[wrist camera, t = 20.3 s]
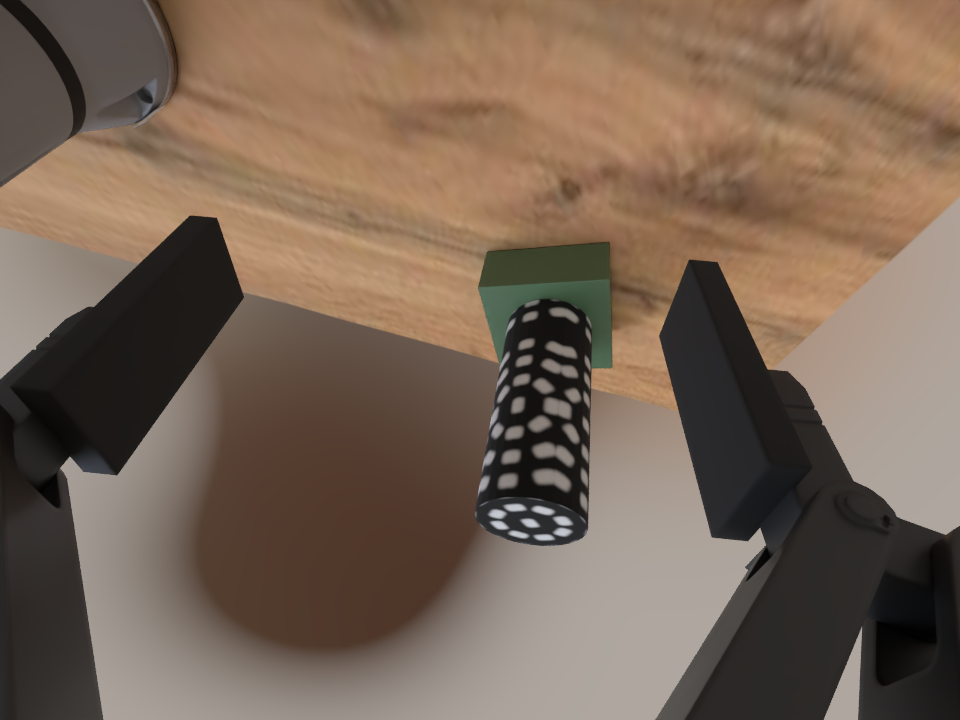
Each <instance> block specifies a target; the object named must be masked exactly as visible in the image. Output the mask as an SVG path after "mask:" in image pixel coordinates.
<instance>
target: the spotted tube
mask: <svg viewBox="0 0 960 720" xmlns="http://www.w3.org/2000/svg"><path fill="white" fill-rule="evenodd" d="M591 362H592V325H591V322H590V320H589V318H588V317H587V315H586V314H585V313H584V312H583V311H582V310H581V309H579V308H578V307H576V306H574V305H572V304H570V303H568V302H565V301H561V300H555V299H540V300H535V301H531V302H528V303H525V304H523V305H522V306H520V307H518V308H517V309H516V310H515V311H514V312H513V313H512V315H511V316H510V318H509V321H508V326H507V331H506V337H505V343H504V349H503V354H502V360H501V366H500V372H499V377H498V383H497V389H496V395H495V401H494V407H493V412H492V418H491V424H490V429H489V436H488V441H487V447H486V452H485V458H484V464H483V469H482V475H481V481H480V487H479V493H478V498H477V504H476V510H475V518H476V520H477V522H478V523H479V524H480V525H481V526H482V527H483V528H485V529H486V530H487V531H489V532H491V533H492V534H494V535H497V536H499V537H501V538H504V539H507V540H511V541H514V542H518V543H523V544H530V545H540V546H554V545H563V544H569V543H572V542H575V541H577V540H579V539H581V538H583V537H584V536H585V535H586V533H587V530H588V501H589V456H590V453H589V452H590V409H591Z"/></svg>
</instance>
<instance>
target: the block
mask: <svg viewBox="0 0 960 720" xmlns="http://www.w3.org/2000/svg"><path fill="white" fill-rule="evenodd" d="M478 289H479V292H480V296H481V300H482V303H483V307H484V310H485V314H486V318H487V321H488V325H489V328H490V332H491V336H492V339H493V343H494V346H495V350H496V354H497V357H498V361H499V364H500V366H501V360H502V354H503V349H504V343H505V337H506V331H507V326H508V321H509V318H510V316H511V315H512V313H513V312H514V311H515V310H516V309H517V308H518V307H520V306H522V305H523V304H525V303H528V302H531V301H535V300H540V299H555V300H561V301H565V302H568V303H570V304H572V305H574V306H576V307H578V308H579V309H581V310H582V311H583V312H584V313H585V314H586V315H587V317H588V318H589V320H590V322H591V325H592V362H591V368H612V316H611V282H610V248H609V242H607V243H594V244H582V245H569V246H557V247H544V248H531V249H519V250H506V251H493V252H487V254H486V258H485V262H484V266H483V270H482V274H481V278H480V282H479V286H478Z"/></svg>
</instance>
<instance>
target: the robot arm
mask: <svg viewBox="0 0 960 720" xmlns="http://www.w3.org/2000/svg"><path fill="white" fill-rule="evenodd" d="M176 79H177V60H176V54H175V49H174V44H173V40H172V37H171V34H170V31H169V28H168V26H167V23H166V21H165V18H164V16H163V14H162V12H161V10H160V8H159V6H158V4H157V2H156V1H155V0H0V187H2V186H3V185H5V184H6V183H7V182H9V181H10V180H12V179H13V178H14V177H16V176H17V175H19V174H20V173H21V172H23V171H24V170H26V169H27V168H28V167H30V166H31V165H33V164H34V163H36V162H37V161H38V160H40V159H41V158H43V157H44V156H45V155H47V154H48V153H50V152H51V151H52V150H54V149H55V148H57V147H58V146H60V145H61V144H62V143H64V142H65V141H67V140H68V139H70V138H71V137H73V136H74V135H76V134H77V133H82V132H88V131H94V130H100V129H107V128H113V127H119V126H125V125H131V124H134V123H137V122H140V121H141V122H140V123H138V124H137V125H136V126H135V127H137V126H140V125H142V124H143V123H145V122H146V121H147V120H148V119H150V118H151V117H152V116H153V115H155V114H156V113H157V112H158V111H160V110H161V109H162V108H164V107H165V106H164V105H165V104H166V103H167V102H168V101H169V99H170V98H171V96H172V94H173V91H174V88H175V85H176ZM163 106H164V107H163ZM135 127H133V128H135ZM243 298H244V296H243V293H242V290H241V287H240V284H239V281H238V278H237V275H236V272H235V269H234V266H233V264H232V261H231V258H230V255H229V252H228V249H227V246H226V243H225V240H224V237H223V234H222V231H221V228H220V226H219V223H218V220H217V218H212V217H201V216H189V217H188V218H187V219H186V220H185V221H184V222H183V223H182V224H181V225H180V226H179V227H178V228H177V229H175V230H174V231H173V232H172V233H171V234H170V235H169V236H168V237H167V238H166V239H165V240H164V241H163V242H162V243H161V244H160V245H159V246H158V247H157V248H156V249H154V250H153V251H152V252H151V253H150V254H149V255H148V256H147V257H146V258H145V259H144V260H143V261H142V262H141V263H140V264H139V265H138V266H137V267H136V268H135V269H133V270H132V272H131V273H129V274H128V275H127V276H126V277H125V278H124V279H123V280H122V281H121V282H120V283H119V284H118V285H117V286H116V287H115V288H114V289H112V290H111V291H110V292H109V293H108V294H107V295H106V296H105V297H104V298H103V299H102V300H101V301H100V302H99V303H98V304H97V305H96V306H95V307H87V308H85V309H83V310H82V311H80V312H78V313H76V314H74V315H72V316H71V317H69V318H67V319H65V320H64V322H62V323H61V324H60V325H59V326H58V327H57V328H56V329H55V330H54V331H52V332H51V333H50V337H46V338H45V339H44V340H43V341H42V342H40V343H39V344H38V345H37V346H36V350H32V351H31V352H30V353H29V354H27V355H26V356H25V357H24V358H23V359H22V360H21V361H20V362H19V363H18V364H17V365H16V366H14V367H13V368H12V369H11V370H10V371H9V372H8V373H7V374H6V375H5V376H4V377H3V378H1V379H0V720H103V715H102V709H101V702H100V695H99V689H98V682H97V675H96V668H95V662H94V655H93V649H92V643H91V635H90V629H89V622H88V615H87V609H86V602H85V596H84V589H83V582H82V576H81V569H80V562H79V556H78V549H77V542H76V536H75V529H74V522H73V516H72V509H71V503H70V496H69V490H68V483H67V478H66V476H65V475H64V473H63V471H62V470H61V469H60V467H61V466H62V465H63V464H64V463H65V461H66V460H67V459H68V458H69V457H71V458H72V459H73V460H74V461H75V462H76V464H77V465H78V466H79V467H80V468H81V469H82V470H83V472H91V473H100V474H110V475H118V473H119V472H120V471H121V469H122V468H123V466H124V465H125V464H126V462H127V461H128V459H129V458H130V457H131V455H132V454H133V452H134V451H135V450H136V448H137V447H138V445H139V444H140V442H141V441H142V440H143V438H144V437H145V436H146V434H147V433H148V431H149V430H150V428H151V427H152V425H153V424H154V423H155V422H156V420H157V419H158V417H159V416H160V415H161V413H162V412H163V410H164V409H165V407H166V406H167V405H168V403H169V402H170V400H171V399H172V398H173V396H174V395H175V393H176V392H177V391H178V389H179V388H180V386H181V385H182V384H183V382H184V381H185V379H186V378H187V377H188V375H189V374H190V372H191V371H192V370H193V368H194V367H195V365H196V364H197V363H198V361H199V360H200V358H201V357H202V356H203V354H204V353H205V351H206V350H207V349H208V347H209V346H210V344H211V343H212V341H213V340H214V339H215V337H216V336H217V335H218V333H219V332H220V330H221V329H222V327H223V326H224V325H225V323H226V322H227V321H228V319H229V318H230V316H231V315H232V313H233V312H234V311H235V309H236V308H237V307H238V305H239V304H240V302H241V301H242V300H243ZM659 337H660V341H661V345H662V349H663V352H664V356H665V360H666V364H667V368H668V372H669V375H670V379H671V383H672V387H673V391H674V395H675V398H676V402H677V406H678V410H679V414H680V417H681V421H682V425H683V429H684V433H685V437H686V440H687V444H688V448H689V452H690V456H691V460H692V463H693V467H694V471H695V474H696V479H697V483H698V486H699V490H700V494H701V498H702V501H703V505H704V509H705V513H706V517H707V521H708V524H709V528H710V532H711V536H712V537H714V538H722V539H732V540H742V541H748V540H749V539H750V538H751V537H752V536H753V535H754V534H755V533H756V531H757V530H758V529H759V528H761V531H762V534H763V537H764V540H765V542H766V546H765V547H764V548H763V549H762V550H761V551H760V552H759V553H758V554H757V555H756V556H755V557H754V559H752V561H751V562H750V563H749V564H748V565H747V566H746V567H745V568H746V569H748V572H747V573H746V575H745V577H744V578H743V580H742V581H741V583H740V585H739V586H738V588H737V589H736V591H735V593H734V594H733V596H732V597H731V600H730V601H729V602H728V604H727V606H726V607H725V609H724V611H723V612H722V614H721V616H720V617H719V618H718V620H717V622H716V623H715V625H714V626H713V628H712V630H711V631H710V633H709V635H708V636H707V638H706V639H705V641H704V643H703V644H702V646H701V647H700V649H699V651H698V652H697V654H696V655H695V657H694V659H693V660H692V662H691V664H690V665H689V667H688V668H687V670H686V672H685V673H684V675H683V676H682V678H681V680H680V681H679V683H678V685H677V686H676V688H675V689H674V691H673V692H672V694H671V696H670V697H669V699H668V701H667V702H666V704H665V705H664V707H663V709H662V710H661V712H660V713H659V715H658V717H657V718H656V720H824V717H825V715H826V712H827V710H828V708H829V705H830V703H831V700H832V698H833V695H834V693H835V691H836V688H837V685H838V683H839V681H840V678H841V676H842V673H843V671H844V669H845V666H846V664H847V661H848V659H849V656H850V654H851V652H852V649H853V647H854V644H855V642H856V639H857V637H858V635H859V632H860V629H861V627H862V646H861V668H860V692H859V714H858V720H960V526H959V527H957V528H956V529H954V530H953V531H951V532H950V533H948V534H947V535H944V534H941V533H938V532H936V531H933V530H930V529H927V528H925V527H922V526H919V525H916V524H914V523H911V522H908V521H905V520H902V519H900V518H898V517H896V514H895V512H894V511H893V509H892V508H891V507H890V506H889V505H888V504H887V502H886V501H885V500H884V499H883V498H881V497H880V496H879V495H877V494H876V493H875V492H874V491H872V490H871V489H869V488H867V487H865V486H863V485H861V484H858V483H856V482H854V481H853V479H852V477H851V475H850V474H849V472H848V470H847V468H846V466H845V464H844V462H843V460H842V458H841V456H840V454H839V452H838V450H837V449H836V447H835V445H834V443H833V441H832V439H831V437H830V435H829V433H828V432H827V429H826V428H825V426H824V425H822V420H821V418H820V416H819V414H818V412H817V411H816V410H814V405H813V403H812V401H811V399H810V397H809V395H808V393H807V391H806V389H805V388H804V387H803V386H802V385H801V384H800V383H799V382H798V381H797V380H796V379H795V378H794V377H793V376H792V375H791V374H790V373H789V372H788V371H777V370H768V369H767V368H766V366H765V363H764V361H763V359H762V357H761V355H760V353H759V350H758V348H757V346H756V344H755V342H754V340H753V338H752V335H751V333H750V331H749V329H748V327H747V325H746V323H745V320H744V318H743V316H742V314H741V312H740V310H739V307H738V305H737V303H736V301H735V299H734V297H733V295H732V292H731V290H730V288H729V286H728V284H727V282H726V280H725V277H724V275H723V273H722V271H721V269H720V267H719V264H718V262H710V261H698V260H689V261H688V264H687V266H686V269H685V271H684V274H683V276H682V279H681V282H680V284H679V287H678V289H677V292H676V294H675V297H674V299H673V302H672V305H671V307H670V310H669V312H668V315H667V317H666V320H665V322H664V325H663V328H662V330H661V333H660V335H659Z"/></svg>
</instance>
